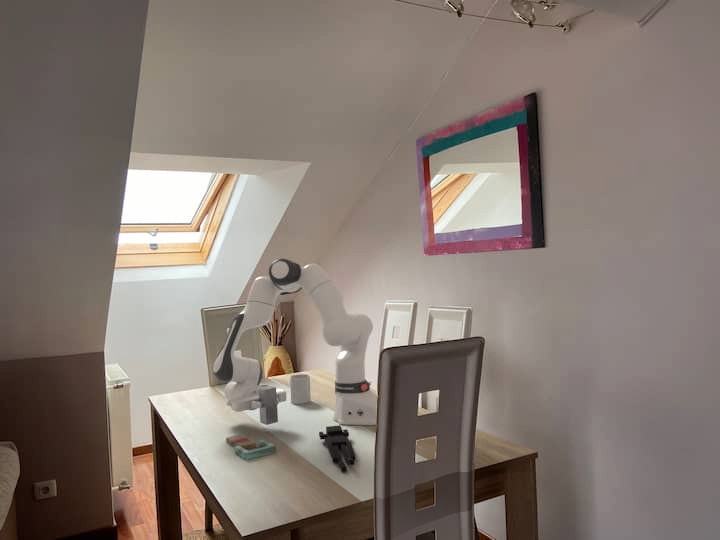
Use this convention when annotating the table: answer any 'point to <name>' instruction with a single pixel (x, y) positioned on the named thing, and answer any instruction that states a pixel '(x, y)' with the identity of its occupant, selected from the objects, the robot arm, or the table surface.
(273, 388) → the block
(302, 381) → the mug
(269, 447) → the tray
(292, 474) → the table surface
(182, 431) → the table surface
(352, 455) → the toy
